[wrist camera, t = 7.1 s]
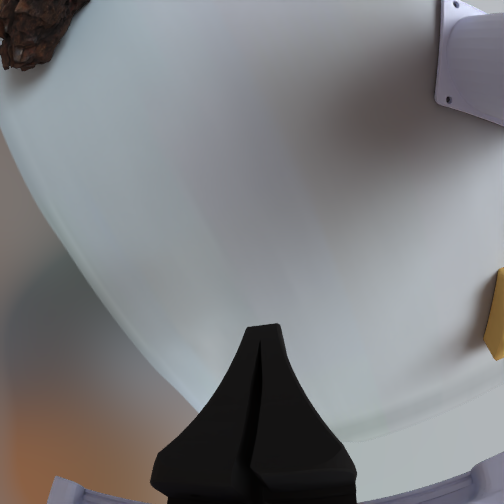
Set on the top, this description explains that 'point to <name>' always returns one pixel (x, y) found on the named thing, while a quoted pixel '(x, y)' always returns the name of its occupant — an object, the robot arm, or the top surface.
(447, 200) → the top surface
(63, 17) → the brown rock
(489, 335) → the rubber stamp
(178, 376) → the top surface
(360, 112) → the top surface
